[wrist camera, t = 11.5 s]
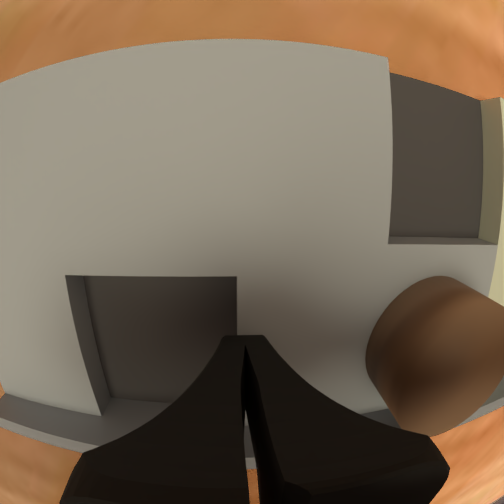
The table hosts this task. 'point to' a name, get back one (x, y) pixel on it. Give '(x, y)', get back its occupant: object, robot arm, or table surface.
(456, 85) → the table surface
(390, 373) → the puck
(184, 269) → the trap board
